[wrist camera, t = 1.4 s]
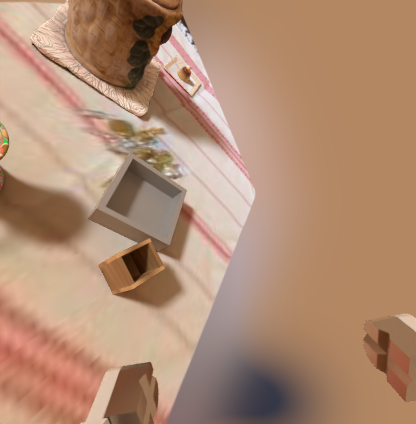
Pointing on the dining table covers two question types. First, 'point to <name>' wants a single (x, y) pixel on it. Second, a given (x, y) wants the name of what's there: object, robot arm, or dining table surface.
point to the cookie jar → (111, 45)
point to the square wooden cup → (131, 267)
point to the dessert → (183, 74)
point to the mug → (3, 149)
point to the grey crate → (140, 203)
